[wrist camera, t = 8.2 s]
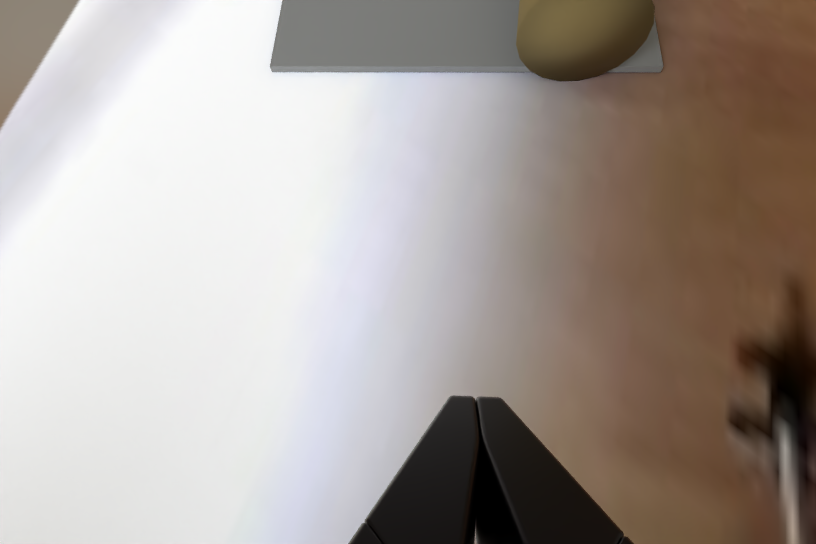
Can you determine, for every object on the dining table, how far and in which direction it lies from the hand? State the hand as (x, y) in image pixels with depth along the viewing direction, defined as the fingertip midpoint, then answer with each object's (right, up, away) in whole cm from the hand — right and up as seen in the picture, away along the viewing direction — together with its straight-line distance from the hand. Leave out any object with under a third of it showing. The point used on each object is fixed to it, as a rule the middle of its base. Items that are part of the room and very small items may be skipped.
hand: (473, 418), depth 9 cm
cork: (+7, +13, +16) cm, 22 cm away
